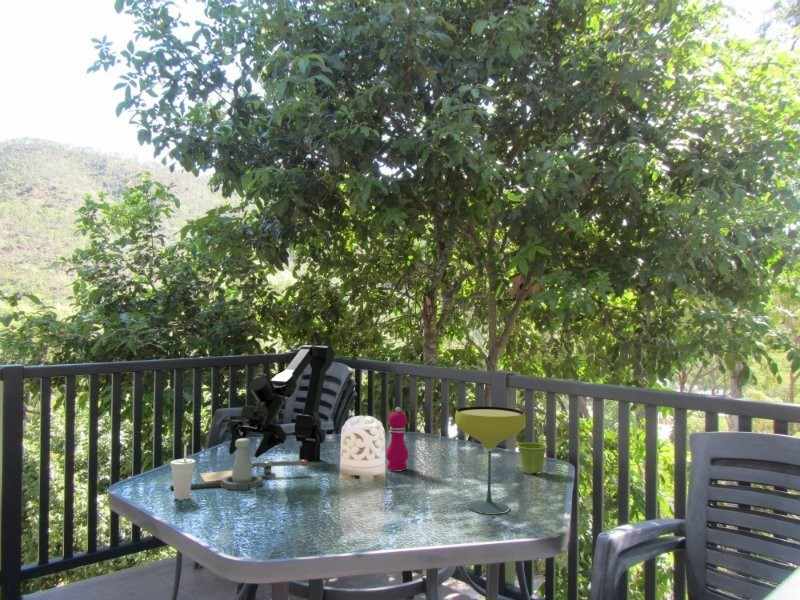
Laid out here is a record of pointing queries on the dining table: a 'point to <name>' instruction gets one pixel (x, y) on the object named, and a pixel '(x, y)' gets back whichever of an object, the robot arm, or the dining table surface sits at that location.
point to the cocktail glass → (490, 439)
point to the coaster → (215, 476)
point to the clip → (278, 463)
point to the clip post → (267, 473)
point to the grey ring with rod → (231, 484)
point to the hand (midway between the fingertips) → (242, 455)
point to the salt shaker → (242, 462)
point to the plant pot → (532, 456)
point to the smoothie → (182, 476)
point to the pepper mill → (397, 441)
